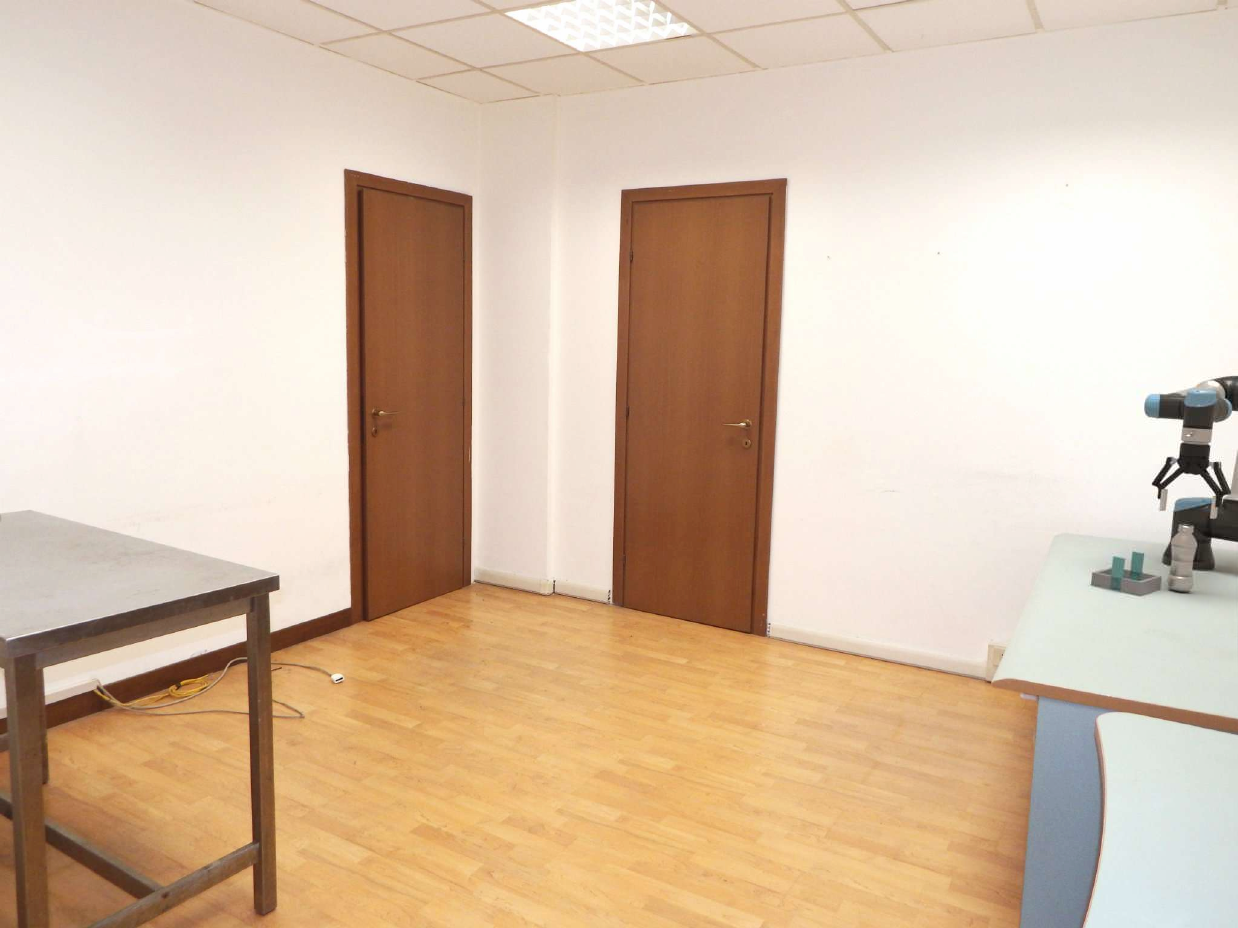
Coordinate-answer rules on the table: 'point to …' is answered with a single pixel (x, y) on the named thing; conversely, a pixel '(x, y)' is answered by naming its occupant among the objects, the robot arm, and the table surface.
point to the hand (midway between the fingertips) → (1187, 514)
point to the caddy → (1127, 577)
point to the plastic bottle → (1182, 559)
